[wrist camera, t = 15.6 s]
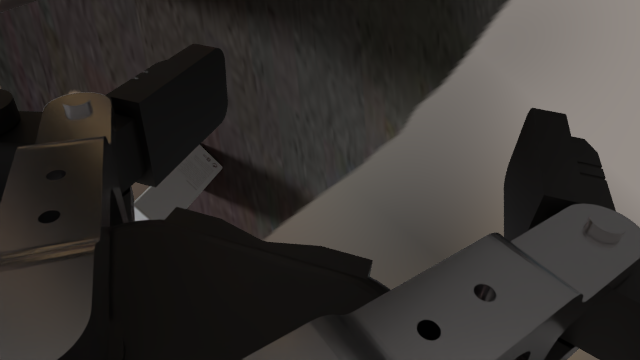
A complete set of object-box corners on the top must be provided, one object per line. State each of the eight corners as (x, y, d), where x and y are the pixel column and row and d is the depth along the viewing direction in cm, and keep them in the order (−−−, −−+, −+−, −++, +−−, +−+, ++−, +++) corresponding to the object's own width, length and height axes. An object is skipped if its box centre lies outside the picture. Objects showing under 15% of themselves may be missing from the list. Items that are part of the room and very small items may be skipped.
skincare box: (197, 140, 53) (132, 203, 43) (224, 166, 54) (166, 233, 45) (171, 164, 56) (107, 227, 47) (197, 189, 57) (139, 255, 48)
